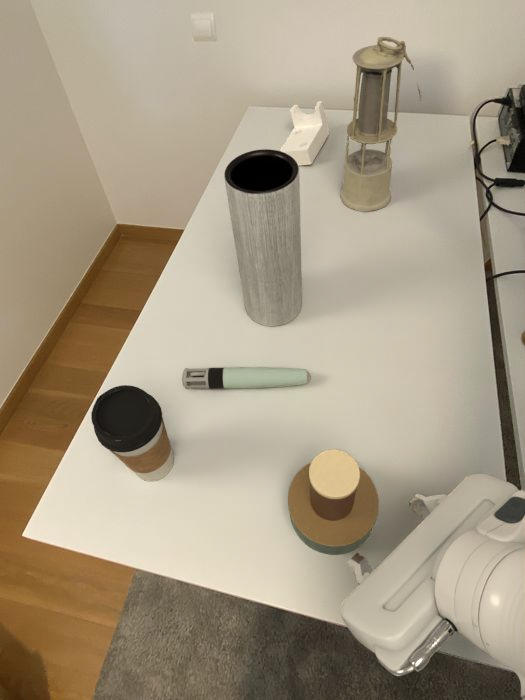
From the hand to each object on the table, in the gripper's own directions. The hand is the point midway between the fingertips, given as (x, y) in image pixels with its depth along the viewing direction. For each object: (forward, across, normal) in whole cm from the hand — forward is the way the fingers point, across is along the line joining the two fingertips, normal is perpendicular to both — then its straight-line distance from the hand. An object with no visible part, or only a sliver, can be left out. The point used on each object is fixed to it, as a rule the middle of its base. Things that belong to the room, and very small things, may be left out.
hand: (385, 531), depth 54 cm
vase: (+36, +18, +21) cm, 45 cm away
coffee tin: (+13, 0, -2) cm, 13 cm away
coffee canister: (+10, 0, +1) cm, 10 cm away
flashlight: (+30, +4, +14) cm, 33 cm away
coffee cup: (+28, -14, +13) cm, 34 cm away
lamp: (+42, +52, +27) cm, 72 cm away
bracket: (+58, +54, +43) cm, 90 cm away
